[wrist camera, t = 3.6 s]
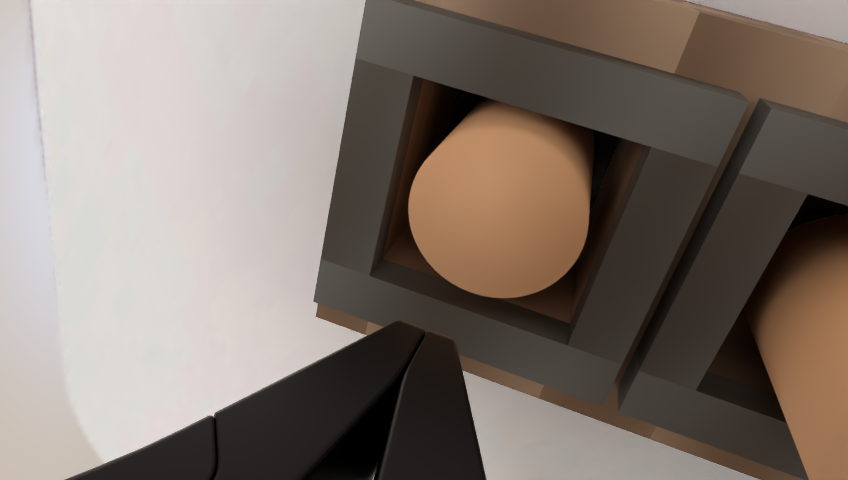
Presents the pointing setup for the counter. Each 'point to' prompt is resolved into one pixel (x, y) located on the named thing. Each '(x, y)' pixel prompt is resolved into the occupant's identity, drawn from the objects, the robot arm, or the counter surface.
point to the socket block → (602, 203)
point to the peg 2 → (808, 340)
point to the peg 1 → (504, 200)
